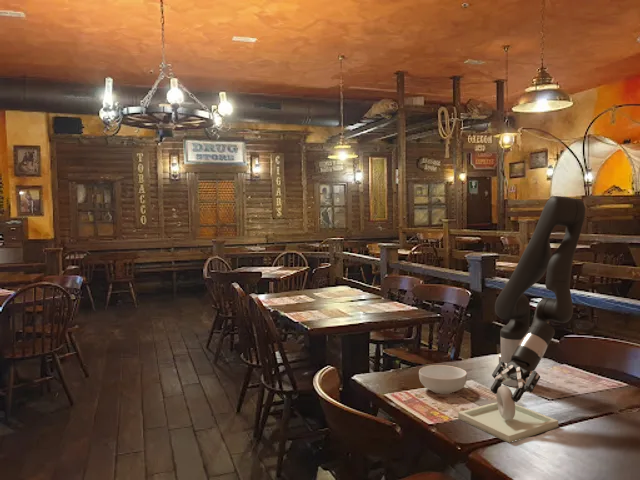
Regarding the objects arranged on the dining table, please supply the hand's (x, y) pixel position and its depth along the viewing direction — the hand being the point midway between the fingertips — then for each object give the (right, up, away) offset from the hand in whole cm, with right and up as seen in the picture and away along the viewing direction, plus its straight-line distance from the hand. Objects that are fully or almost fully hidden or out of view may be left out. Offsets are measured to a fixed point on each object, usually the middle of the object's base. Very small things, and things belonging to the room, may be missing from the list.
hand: (503, 396), depth 152 cm
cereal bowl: (-11, -8, +31) cm, 33 cm away
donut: (+1, -7, +1) cm, 7 cm away
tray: (+1, -8, +1) cm, 8 cm away
